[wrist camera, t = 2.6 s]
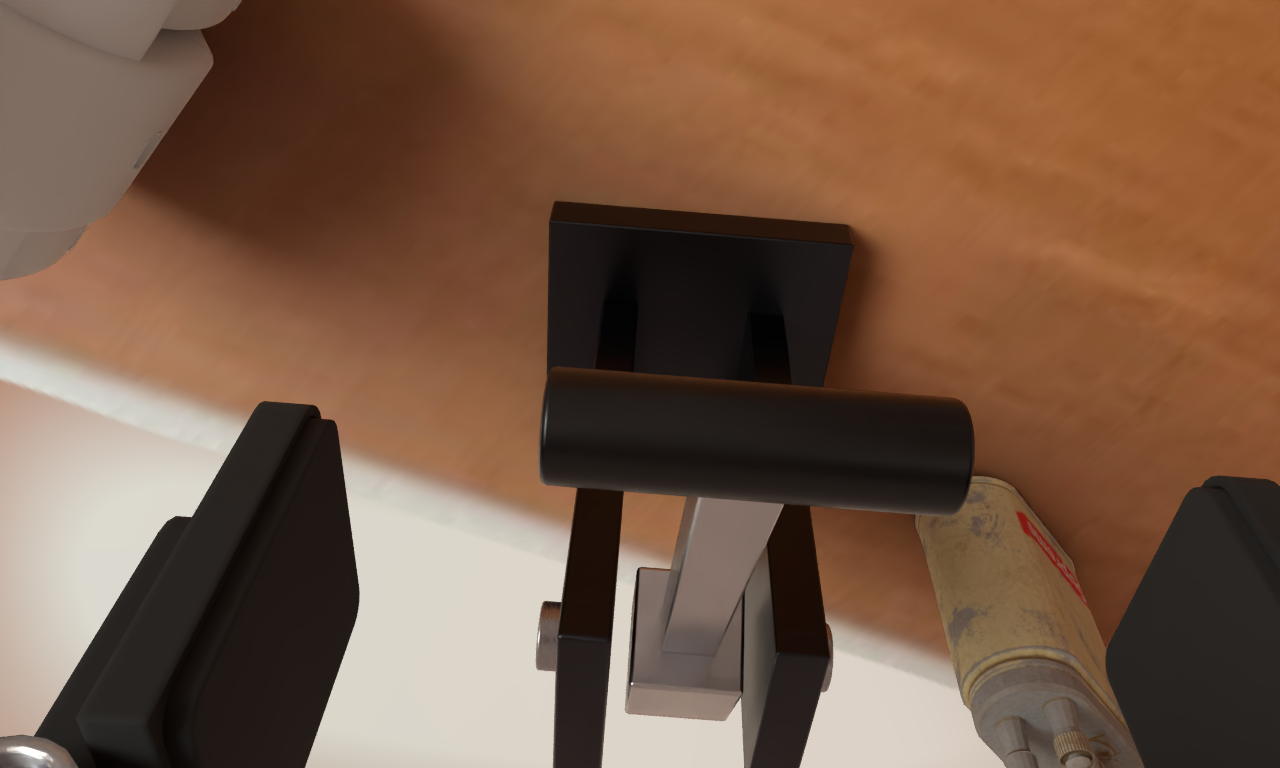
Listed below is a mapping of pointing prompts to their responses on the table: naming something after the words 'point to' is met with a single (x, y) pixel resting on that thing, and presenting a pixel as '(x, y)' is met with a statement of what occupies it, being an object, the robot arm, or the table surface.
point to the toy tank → (87, 110)
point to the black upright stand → (705, 348)
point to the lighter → (1022, 636)
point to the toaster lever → (737, 495)
